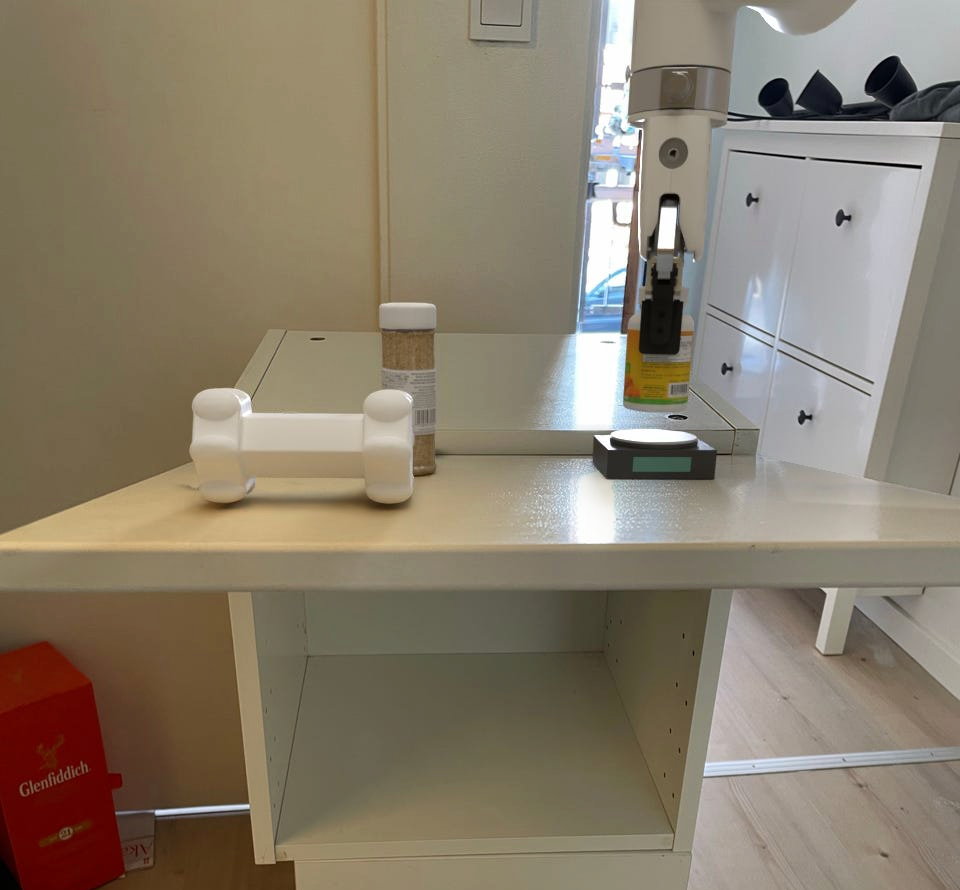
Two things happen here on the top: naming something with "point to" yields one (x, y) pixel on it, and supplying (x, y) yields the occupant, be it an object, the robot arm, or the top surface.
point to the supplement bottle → (658, 368)
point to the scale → (653, 455)
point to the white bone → (301, 445)
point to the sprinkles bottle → (412, 371)
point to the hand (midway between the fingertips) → (659, 348)
